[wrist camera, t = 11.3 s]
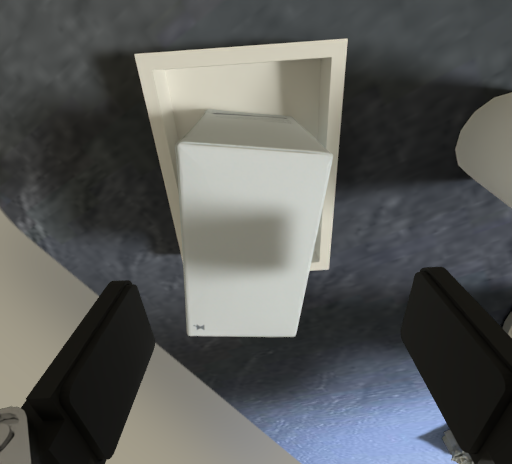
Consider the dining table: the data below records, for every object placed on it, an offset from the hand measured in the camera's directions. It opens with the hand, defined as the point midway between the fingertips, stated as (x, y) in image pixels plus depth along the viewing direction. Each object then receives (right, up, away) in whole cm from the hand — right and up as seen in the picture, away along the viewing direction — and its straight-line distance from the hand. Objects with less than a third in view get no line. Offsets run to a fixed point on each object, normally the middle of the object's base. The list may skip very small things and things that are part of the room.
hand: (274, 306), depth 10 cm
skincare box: (-1, +6, +13) cm, 14 cm away
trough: (-1, +8, +13) cm, 15 cm away
